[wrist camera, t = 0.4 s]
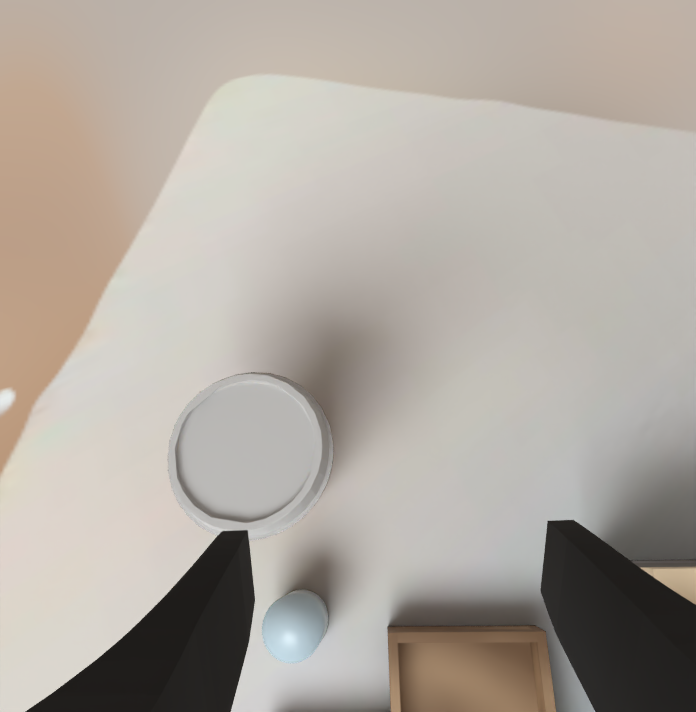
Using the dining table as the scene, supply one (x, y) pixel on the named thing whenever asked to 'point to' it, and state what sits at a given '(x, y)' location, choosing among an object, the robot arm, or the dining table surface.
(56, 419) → the dining table surface
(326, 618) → the pale blue capsule
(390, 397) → the dining table surface
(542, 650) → the tray
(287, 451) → the disposable coffee cup
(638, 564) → the counter shelf
